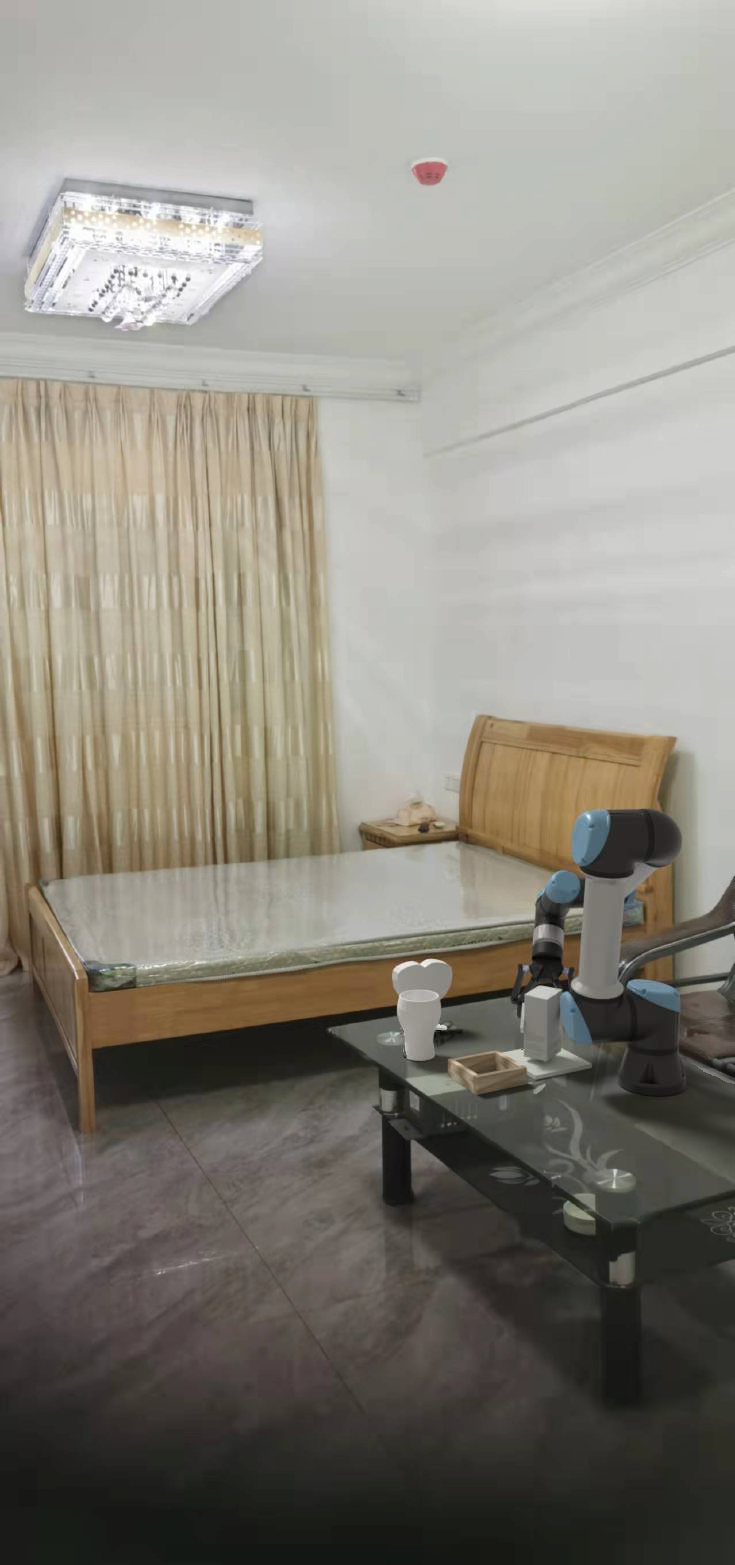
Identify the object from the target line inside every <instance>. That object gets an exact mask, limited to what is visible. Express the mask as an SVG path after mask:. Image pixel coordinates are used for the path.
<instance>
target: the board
mask: <svg viewBox="0 0 735 1565" xmlns="http://www.w3.org/2000/svg"><path fill="white" fill-rule="evenodd" d="M521 1049H523V1048H518V1049H513V1050H509V1051H504V1052H503V1051H502V1053H503V1054H504V1055H506V1056H508V1057H510V1058H511V1059H513V1060H515V1061H517V1062H518V1063H520V1064H522V1065H524V1066H525V1067H527V1077H530V1078H531V1079H534V1080H535V1081H536V1080H537V1081H538V1080H541V1079H546V1078H551V1077H555V1076H560V1075H565V1074H570V1073H574V1072H579V1071H584V1070H588V1069H593V1068H592V1067H593V1064H592V1063H591V1062H590V1061H587V1060H585V1059H583V1058H581V1057H580V1056H577V1055H576V1054H573V1053H572V1052H570V1051H568V1050H566V1049H564V1048H563V1047H561V1051H560V1052H559V1053H558V1054H556V1055H555V1056H553V1057H552V1058H551V1059H549V1060H548V1061H542V1060H538V1059H533V1058H529V1057H524V1049H523V1050H521Z"/></svg>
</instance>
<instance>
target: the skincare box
mask: <svg viewBox="0 0 735 1565" xmlns="http://www.w3.org/2000/svg"><path fill="white" fill-rule="evenodd" d="M524 995H525V1000H524V1033H523V1048H524V1057H529V1058H533V1059H538V1060H542V1061H548V1060H549V1059H551V1058H552V1057H553V1056H555V1055H556V1054H558V1053H559V1052H560V1051H561V1048H562V1036H559V1024H560V997H561V995H562V989H557V988H555V987H551V986H546V985H545V986H544V985H537V986H535V988H534V989H533V990H531V991H529V992H528V993H526V994H524Z"/></svg>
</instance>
